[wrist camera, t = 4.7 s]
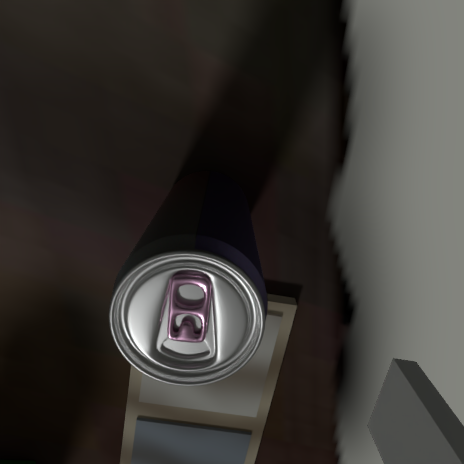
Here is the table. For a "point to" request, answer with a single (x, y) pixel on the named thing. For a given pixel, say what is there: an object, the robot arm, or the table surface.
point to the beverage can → (192, 287)
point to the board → (208, 407)
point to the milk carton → (17, 462)
